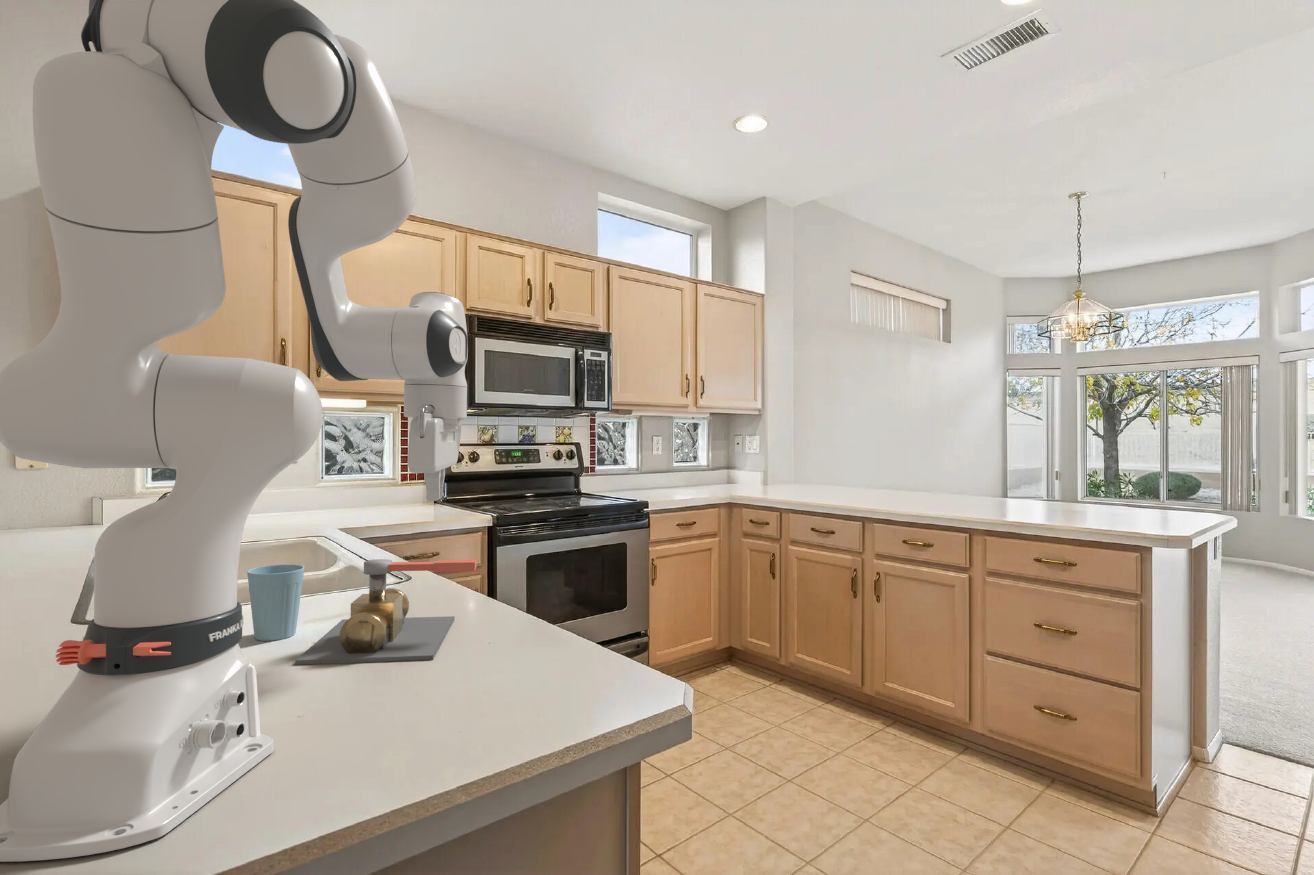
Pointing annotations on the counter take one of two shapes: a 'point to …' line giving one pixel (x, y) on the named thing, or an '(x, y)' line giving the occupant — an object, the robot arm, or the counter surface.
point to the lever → (418, 566)
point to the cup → (275, 600)
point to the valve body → (374, 618)
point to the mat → (410, 644)
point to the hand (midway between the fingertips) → (434, 499)
